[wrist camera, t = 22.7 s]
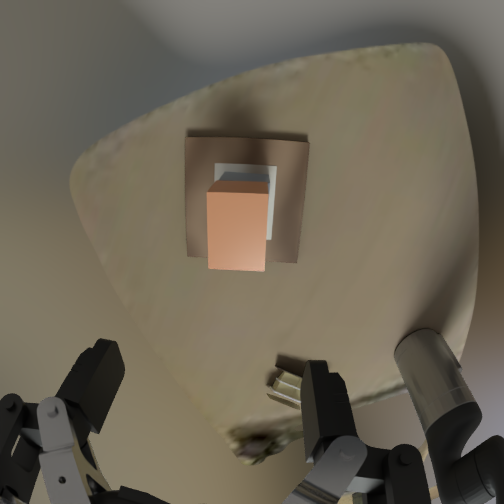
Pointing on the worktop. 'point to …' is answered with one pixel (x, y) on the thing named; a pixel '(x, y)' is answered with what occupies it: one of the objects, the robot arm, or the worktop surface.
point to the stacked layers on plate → (287, 388)
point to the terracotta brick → (237, 225)
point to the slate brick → (246, 177)
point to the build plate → (248, 161)
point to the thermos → (357, 498)
